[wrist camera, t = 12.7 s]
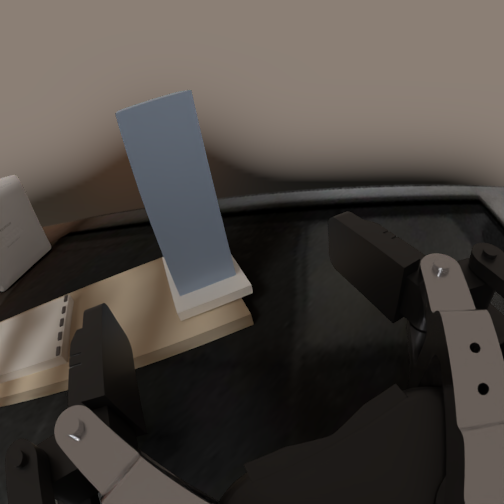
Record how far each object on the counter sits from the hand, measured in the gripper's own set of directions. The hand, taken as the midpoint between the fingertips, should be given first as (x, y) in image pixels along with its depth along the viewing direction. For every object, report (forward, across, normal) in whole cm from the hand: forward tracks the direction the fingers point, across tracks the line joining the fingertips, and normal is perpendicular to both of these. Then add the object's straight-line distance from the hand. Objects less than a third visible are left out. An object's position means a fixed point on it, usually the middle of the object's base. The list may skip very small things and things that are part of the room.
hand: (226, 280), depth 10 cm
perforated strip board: (+10, +11, +8) cm, 17 cm away
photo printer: (+27, +22, +8) cm, 36 cm away
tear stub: (+10, 0, +7) cm, 12 cm away
